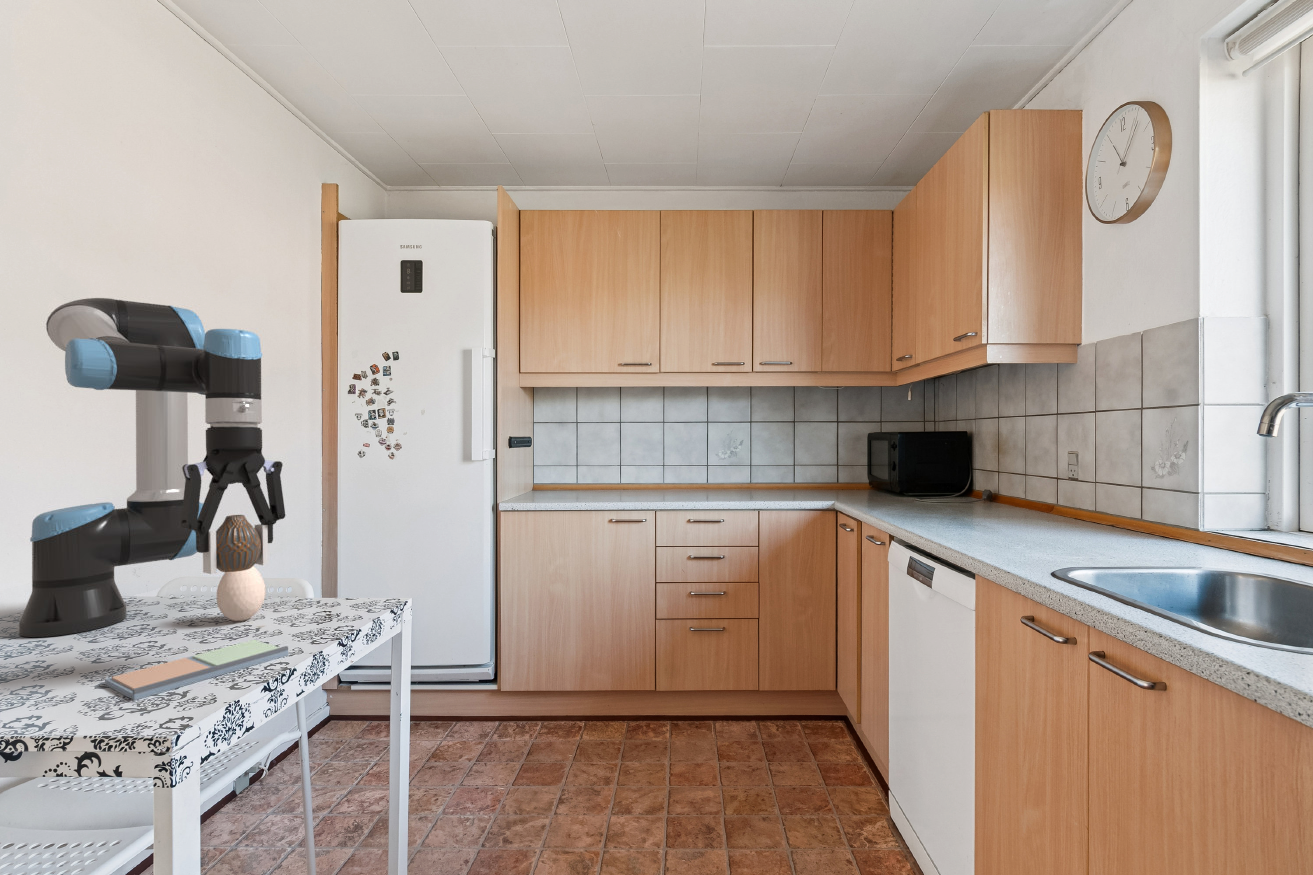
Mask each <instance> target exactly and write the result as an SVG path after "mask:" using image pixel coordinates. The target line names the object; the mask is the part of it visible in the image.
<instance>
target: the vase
mask: <svg viewBox="0 0 1313 875" xmlns="http://www.w3.org/2000/svg"><path fill="white" fill-rule="evenodd" d="M215 531H216V570H218V571H220V572H222V573H225V572H237V571H243V570H248V569H250V568H252V567H253V566H254V567H255V565H256V564H255V563H256V562H257V561H258V559H259V556H260V553H261V540H260V536H259V534H258V532H257V531H256V529H255V526H253V525H252V524H251V523H250V522H249V521H248V519H247V518H246V516H245V515H244V514H232V515H227V516H225V518H224V519H223V522H222V523H221V524H220V526H219V527H218V528H217V530H215Z"/></svg>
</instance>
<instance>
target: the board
mask: <svg viewBox="0 0 1313 875" xmlns="http://www.w3.org/2000/svg"><path fill="white" fill-rule="evenodd" d="M287 656H289V646H287V645H285V646H282V647H279V646H276V645H273V644H269V643H267V642H263V641H260V640H258V639H253V640H252V639H251V640H248V641H244V642H242V643H241V642H240V643H237V644H233V645H230V646H226V647H222V648H218V649H213V650H210V651H206V652H203V653H199V654H195V655H191V656H188V657H184V658H180V659H177V660H176V659H175V660H172V661H168V662H164V663H160V664H157V665H152V666H149V667H146V668H141V669H137V670H134V671H129V672H126V673H123V674H119V675H115V676H111V677H107V678H105V679H104V685H105V686H107V687H108V688H111V689H113V690H114V691H116V692H117V693H120V694H122V695H124V696H125V697H128V698H130V699H131V700H133V701H138V700H140V699H144V698H147V697H151V696H154V695H157V694H161V693H164V692H167V691H171V690H174V689H178V688H181V687H184V686H188V685H192V684H195V683H198V682H202V681H206V680H209V679H212V678H216V677H219V676H222V675H225V674H229V673H232V672H235V671H239V670H243V669H247V668H249V667H253V666H255V665H256V666H257V665H259V664H262V663H265V662H269V661H273V660H276V659H280V658H283V657H287Z"/></svg>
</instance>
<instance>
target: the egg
mask: <svg viewBox="0 0 1313 875" xmlns="http://www.w3.org/2000/svg"><path fill="white" fill-rule="evenodd" d="M223 573H224V574H223V575H222V576H221V577H220V578H221V579H220V581H219V583H218V585H217V589H216V597H215V598H216V604H217V606H218V609H219V610H220V612H221V614H222V615H223V616H224V617H225V618H227V619H229V620H230V621H235V622H243V621H246V620H249V619H250V618H251V619H252V617H254V616H255V615H256V614H257V613H258V611H259V610H261V607H262V606H263V604H264V601H265V597H266V586H265V580H264V578H263V577H262V575H261V572H260V571H258V569H257V568H256V567H255V565H254V566H253V567H252V568H250V569H248V570H243V571H237V572H223Z"/></svg>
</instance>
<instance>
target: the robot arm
mask: <svg viewBox="0 0 1313 875" xmlns="http://www.w3.org/2000/svg"><path fill="white" fill-rule="evenodd" d="M45 326H46V327H45V328H46V332H47V336H48V337H49V339H50V341H51V342H52V343H54V345H55V346H56V347H57V348H58V349H60V350H62V352H63V351H64V354H65V355H64V356H65V357H64V371H65V375H66V381H67V383H68V384H69V385H70V386H72V387H75V388H81V389H83V388H84V389H94V390H96V391H103V390H116V391H117V390H118V391H119V390H120V391H135V474H136V476H135V480H136V481H135V482H136V483H135V484H136V486H135V488H136V489H135V491H134V492H133V493H132V494H131V495H129V496H128V497H127V498H126V508H125V507H124V508H123V507H122V508H115V506H114V504H113V502H98V503H88V504H82V505H77V506H69V507H64V508H59V509H54V510H49V511H46V512H42V513H40V514H38V515H37V516H35V518H34V519H33V520H32V522H31V523H32V524H31V537H30V539H29V541H30V542H31V588H32V589H31V590H32V591H31V594H30V596H29V599H28V601H27V604H26V606H25V608H24V611H23V613H22V615H21V618H20V620H19V624H18V626H19V627H18V630H19V632H18V634H19V636H20V637H24V638H25V637H26V638H42V637H55V636H63V635H70V634H76V633H82V632H87V631H92V630H97V629H101V628H106V627H109V626H112V625H115V624H118V623H120V622H122V621H124V620H126V618H127V606H126V603H125V602H124V599H123V597H122V595H121V593H120V590H119V588H118V585H117V584H116V582H115V567H122V566H128V565H129V566H130V565H136V564H144V563H150V562H151V563H152V562H160V561H166V560H169V561H174V560H176V559H181V558H186V557H191V556H194V555H195V554H198V553H200V554H202V572H203V573H205V574H210V575H214V574H217V570H218V569H217V568H216V531H217V530H211V527H212V525H213V522H214V519H215V517H216V515H217V512H218V510H219V509H218V508H219V507H220V504H221V501H222V500H223V496H224V494H225V491H226V490H227V489H228V487H229V485H233V484H242V486H243V488H245V491H246V492H247V494H248V497H249V499H250V502H251V504H252V505H251V506H252V507H253V509H254V512H255V514H256V516H257V518H258V520H259V523H258V524H254V528H255V529H256V531H257V532H258V534H259V536H260V540H261V553H260V556H259V559H258V561H257V562H256V563H255V564H254V565H259V566H267V565H269V544H272V543H273V541H274V525H276V523H277V521H280V520H283V519H285V518H286V510H285V509H286V508H285V502H284V495H283V485H282V479H281V475H282V474H281V473H282V469H283V466H284V465H283V462H282V461H278V460H276V461H274V460H273V461H272V460H267V459H265V457H264V455H263V451H262V450H263V429H262V428H261V427H259V426H258V425H261V423H263V416H262V414H263V410H262V406H263V405H262V358H263V353H262V347H261V339H260V337H259V335H258V334H257V333H255V332H253V331H248V330H244V329H243V330H242V329H237V328H236V329H235V328H234V329H233V328H212V329H209V330H207V331H205V328H204V325H203V322H202V320H201V319H200V316H199V315H198V314H197V313H195V312H194V311H193V310H191V309H188V308H182V307H178V306H173V305H165V304H156V303H148V302H139V301H130V300H123V299H114V298H110V297H109V298H107V297H106V298H105V297H91V298H88V297H87V298H82V299H81V298H80V299H76V300H73V301H69V302H66V303H63V304H61V305H60V306H58V307H56V308H55V309H54V310H53V311H52V312H50V314H49V316H48V317H47V320H46V324H45ZM188 393H189V394H191V393H192V394H194V393H196V394H199V395H201V396H202V395H203V396H204V398H205V400H204V401H205V404H204V405H205V412H204V413H205V416H204V417H205V419H204V420H205V423H206V424H207V425H209V426H210V427H207V429H205V452H206V454H205V457H204V459H203V460H202V461H201V462H196V463H193V464H191V463H189V456H188V455H189V453H188V452H189V446H188V444H189V439H188V437H189V433H188V430H189V429H188V428H189V427H188V426H189V425H188V424H189V422H188V421H189V420H188V415H189V414H188V411H189V410H188V408H189V407H188V405H189V404H188ZM262 468H263V471H264V473H265V481H266V482H265V483H266V490H267V498H268V501H267V499H266V496H265V494H264V492H263V489H262V487H261V486H262V485H261V484H262V483H261V481H260V479H259V476H258V474H259V472H260V471H261V469H262ZM205 470H206V471H207V472H208V473H209V474H210V475H211V476H212V477H211V479H210V481H209V486H208V487H209V488H208V491H207V493H206V496H205V499H204V502H200V499H201V491H202V490H201V489H202V476H204V473H205Z"/></svg>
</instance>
